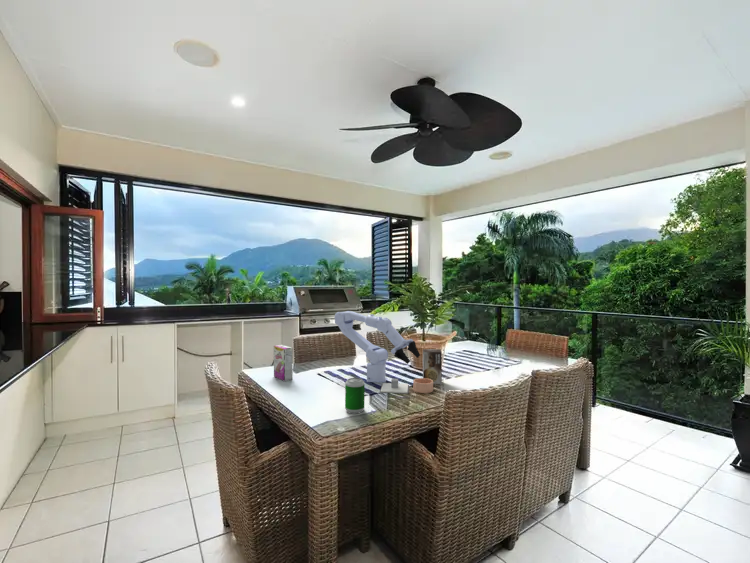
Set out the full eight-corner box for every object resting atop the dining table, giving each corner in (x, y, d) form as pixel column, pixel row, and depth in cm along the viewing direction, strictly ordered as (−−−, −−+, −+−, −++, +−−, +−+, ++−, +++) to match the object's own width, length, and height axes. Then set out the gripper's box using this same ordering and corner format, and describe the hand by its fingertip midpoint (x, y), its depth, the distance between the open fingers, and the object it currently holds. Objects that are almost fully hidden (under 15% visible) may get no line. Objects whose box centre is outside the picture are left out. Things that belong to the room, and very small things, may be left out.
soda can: (368, 410, 137) (368, 379, 137) (354, 416, 131) (354, 383, 131) (354, 405, 142) (354, 376, 142) (341, 410, 136) (341, 380, 136)
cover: (380, 392, 157) (380, 382, 157) (383, 384, 169) (383, 375, 169) (407, 393, 156) (407, 383, 156) (408, 385, 168) (408, 376, 168)
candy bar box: (273, 377, 182) (273, 345, 182) (281, 375, 186) (281, 344, 186) (284, 381, 174) (284, 348, 174) (293, 379, 178) (293, 347, 178)
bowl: (413, 393, 157) (413, 383, 157) (413, 387, 166) (413, 377, 166) (433, 394, 156) (433, 384, 156) (432, 388, 165) (432, 378, 165)
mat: (379, 393, 157) (379, 392, 157) (382, 384, 170) (382, 383, 170) (408, 394, 155) (408, 393, 155) (409, 385, 168) (409, 384, 168)
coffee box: (440, 381, 176) (441, 349, 176) (441, 385, 170) (442, 351, 170) (422, 380, 177) (422, 348, 177) (422, 384, 171) (423, 351, 171)
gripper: (388, 338, 164) (407, 360, 158) (408, 328, 173) (426, 348, 168) (382, 347, 168) (401, 369, 162) (402, 336, 178) (420, 357, 172)
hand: (413, 359), depth 165 cm, fingers open, 7 cm apart
